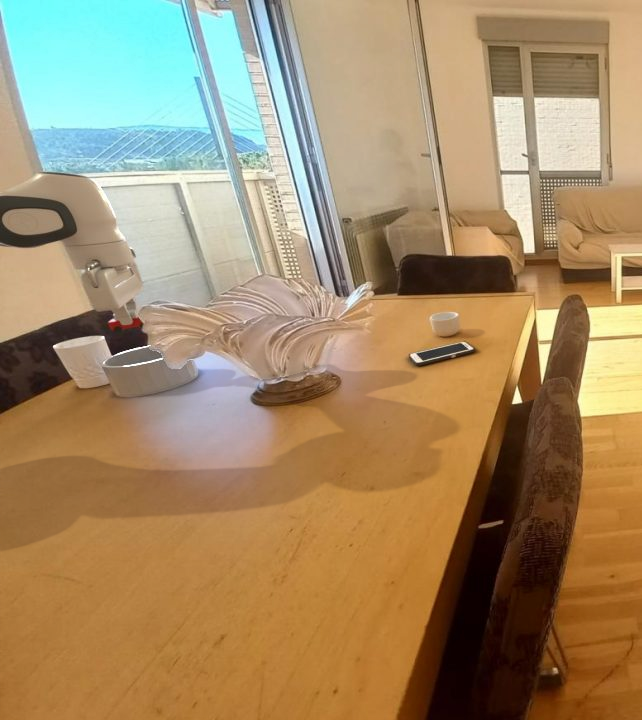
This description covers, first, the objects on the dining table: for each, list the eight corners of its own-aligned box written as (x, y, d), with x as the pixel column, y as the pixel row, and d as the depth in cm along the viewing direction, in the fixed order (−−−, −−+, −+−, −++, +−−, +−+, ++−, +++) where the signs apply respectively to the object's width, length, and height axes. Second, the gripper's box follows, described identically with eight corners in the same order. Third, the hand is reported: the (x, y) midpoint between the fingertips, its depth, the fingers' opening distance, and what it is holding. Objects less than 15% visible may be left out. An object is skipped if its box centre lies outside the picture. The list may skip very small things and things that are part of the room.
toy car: (112, 333, 100) (104, 316, 98) (117, 329, 103) (109, 312, 101) (152, 327, 103) (145, 310, 101) (156, 323, 106) (149, 306, 104)
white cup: (127, 379, 110) (108, 339, 106) (79, 393, 104) (57, 350, 100) (117, 372, 114) (98, 333, 110) (70, 385, 108) (48, 344, 104)
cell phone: (408, 357, 117) (407, 354, 117) (465, 343, 125) (465, 340, 125) (416, 367, 112) (415, 363, 111) (476, 352, 120) (476, 348, 119)
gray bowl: (105, 403, 99) (90, 372, 96) (125, 379, 110) (111, 351, 107) (193, 386, 106) (181, 357, 103) (202, 365, 117) (192, 338, 114)
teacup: (465, 334, 133) (462, 316, 130) (437, 340, 129) (433, 322, 126) (454, 326, 140) (451, 308, 138) (427, 331, 136) (424, 313, 134)
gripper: (107, 262, 90) (138, 331, 95) (135, 248, 106) (161, 307, 111) (60, 267, 87) (95, 337, 92) (97, 252, 103) (124, 312, 108)
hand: (131, 321), depth 102 cm, fingers closed on toy car, 3 cm apart
